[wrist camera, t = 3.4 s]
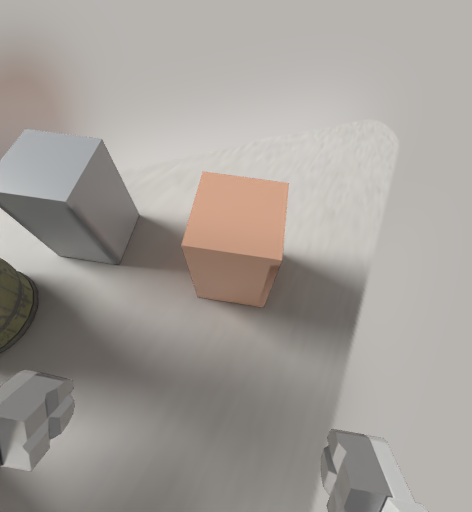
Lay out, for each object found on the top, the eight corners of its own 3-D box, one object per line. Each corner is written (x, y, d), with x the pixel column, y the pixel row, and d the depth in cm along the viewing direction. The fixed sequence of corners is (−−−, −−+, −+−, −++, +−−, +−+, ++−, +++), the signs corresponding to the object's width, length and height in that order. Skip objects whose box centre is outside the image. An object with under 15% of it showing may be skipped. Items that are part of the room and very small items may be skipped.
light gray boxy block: (119, 265, 27) (65, 201, 18) (58, 255, 27) (-23, 189, 19) (139, 214, 30) (101, 138, 21) (84, 206, 30) (25, 128, 22)
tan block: (263, 307, 25) (282, 260, 17) (197, 296, 26) (181, 245, 17) (270, 249, 28) (288, 183, 19) (210, 240, 29) (202, 171, 20)
